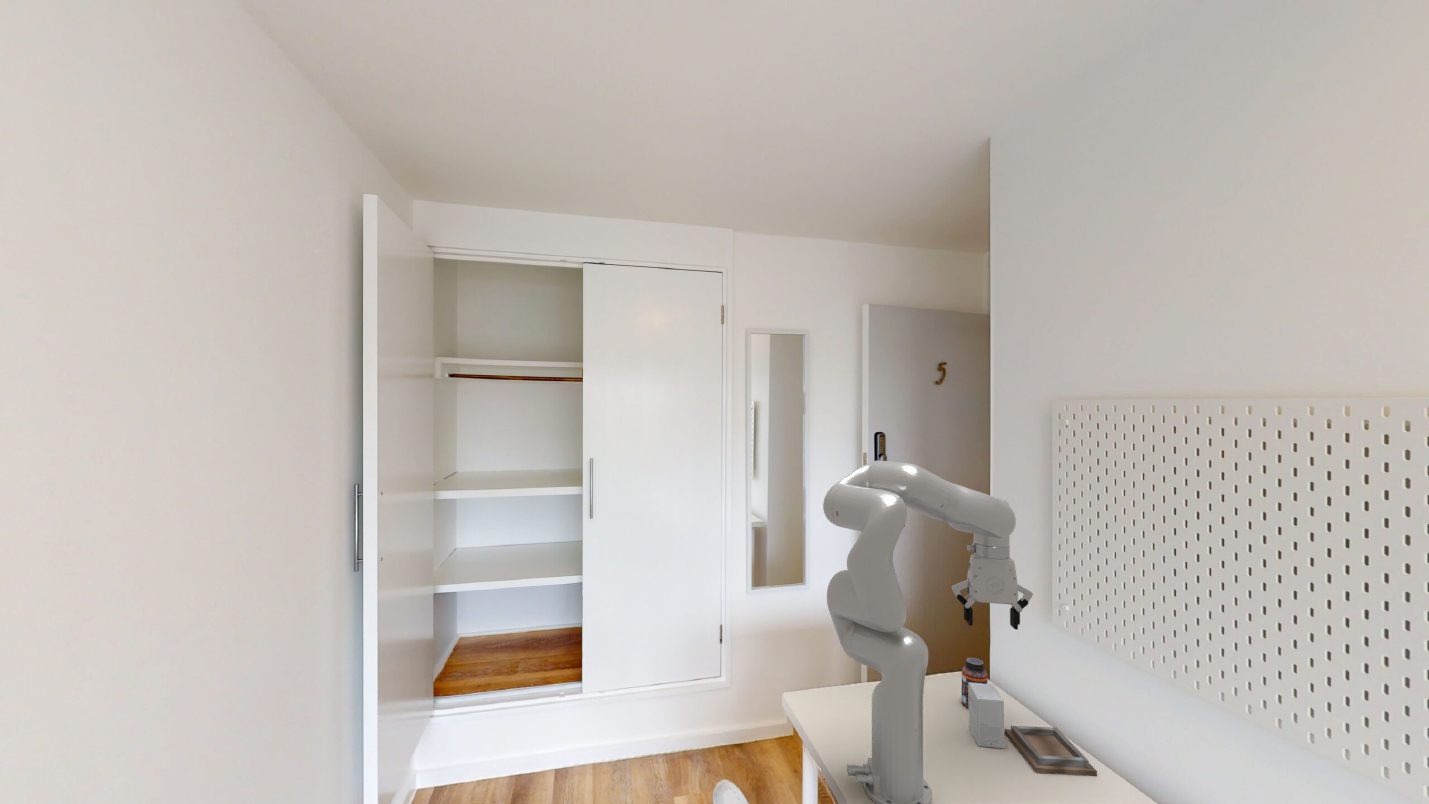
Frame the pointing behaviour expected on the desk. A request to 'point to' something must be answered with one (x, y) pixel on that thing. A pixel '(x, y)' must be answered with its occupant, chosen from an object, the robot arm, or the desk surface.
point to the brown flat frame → (1049, 751)
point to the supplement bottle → (972, 677)
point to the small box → (986, 715)
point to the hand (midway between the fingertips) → (991, 625)
